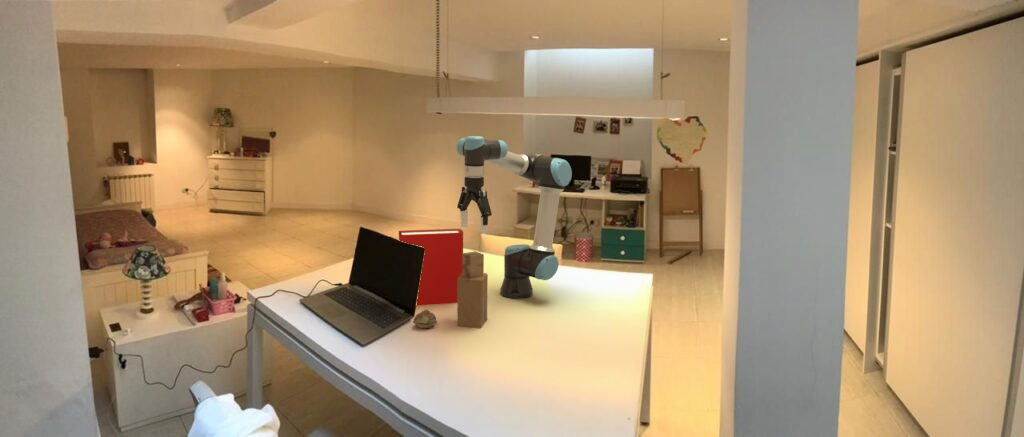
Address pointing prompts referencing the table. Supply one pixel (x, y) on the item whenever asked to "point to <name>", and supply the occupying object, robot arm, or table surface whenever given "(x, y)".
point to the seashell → (425, 319)
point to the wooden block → (472, 301)
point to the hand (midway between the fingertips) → (473, 230)
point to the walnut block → (473, 264)
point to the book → (438, 263)
